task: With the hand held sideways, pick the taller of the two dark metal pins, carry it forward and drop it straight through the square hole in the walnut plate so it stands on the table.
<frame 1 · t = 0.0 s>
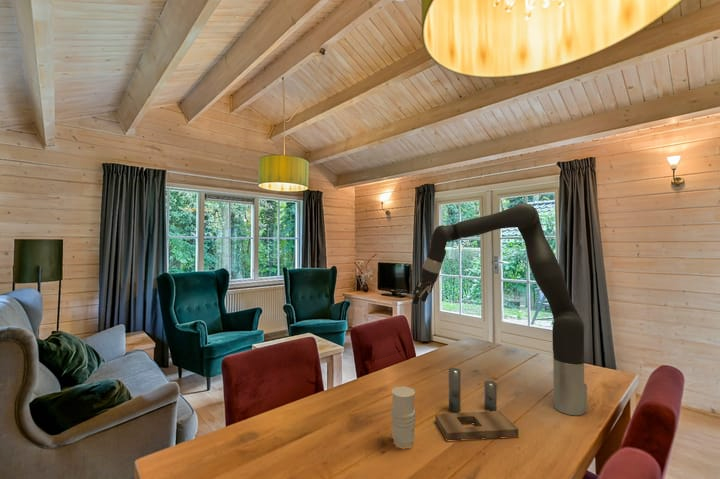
hand: (419, 302, 151), 31 cm above the table, tool tilted 20°, fingers open, 8 cm apart
hole plate: (475, 429, 106), on the table
white ribbed cylinder: (403, 443, 99), on the table
tall pin: (454, 410, 118), on the table
short pin: (490, 408, 119), on the table
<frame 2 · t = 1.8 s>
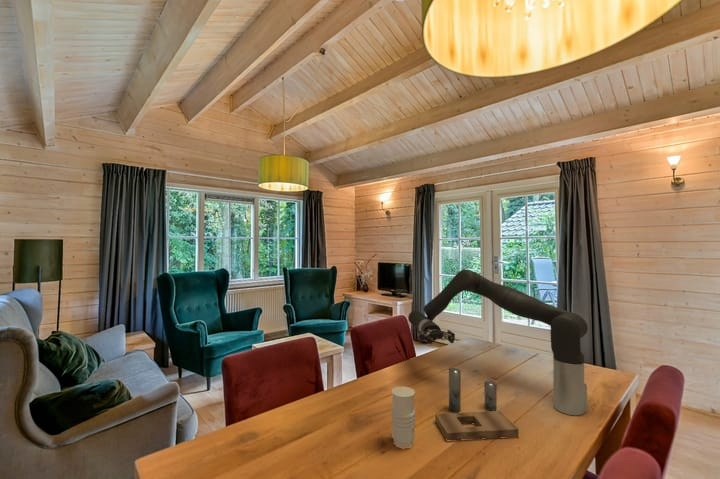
hand: (441, 341, 131), 20 cm above the table, tool horizontal, fingers open, 8 cm apart
nothing on the table moved.
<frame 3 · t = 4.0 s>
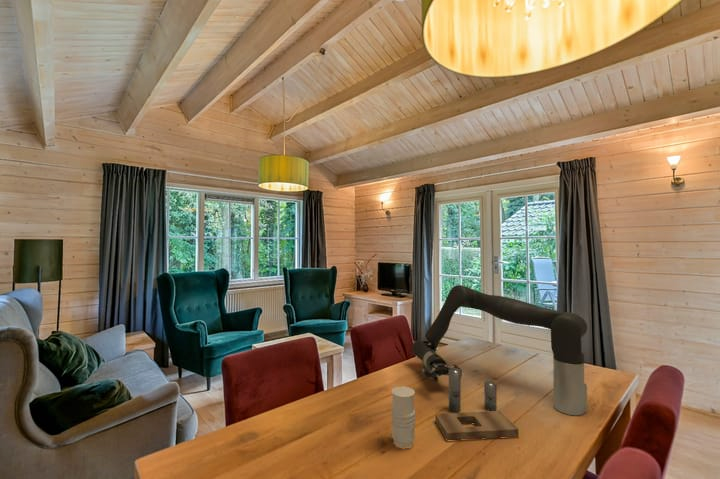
hand: (448, 378, 124), 8 cm above the table, tool horizontal, fingers open, 8 cm apart
nothing on the table moved.
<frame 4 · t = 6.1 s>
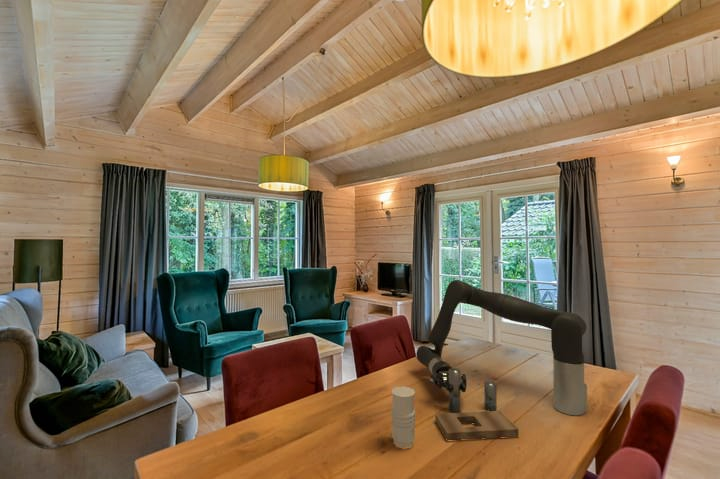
hand: (457, 389, 115), 8 cm above the table, tool horizontal, fingers closed on tall pin, 4 cm apart
tall pin: (454, 410, 118), on the table, touching gripper
everything else where it was.
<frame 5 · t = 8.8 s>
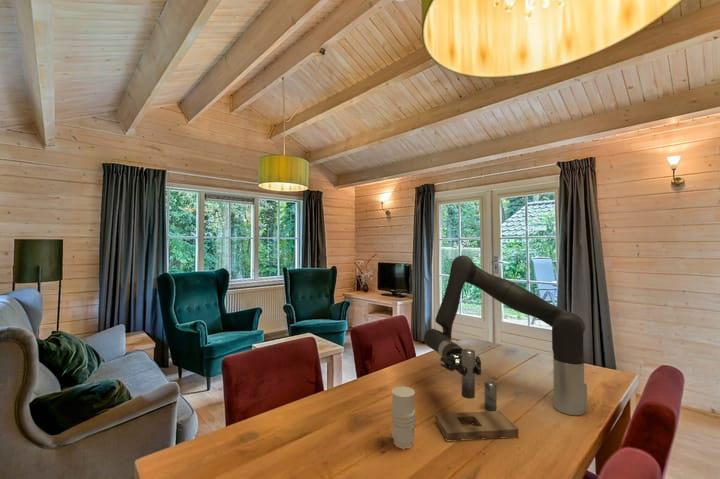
hand: (471, 372, 103), 19 cm above the table, tool horizontal, fingers closed on tall pin, 4 cm apart
tall pin: (468, 395, 106), point 10 cm above the table, touching gripper
everything else where it was.
when the fingers open (10 cm above the table, at t = 11.4 s): tall pin drops 1 cm, resting in hole plate.
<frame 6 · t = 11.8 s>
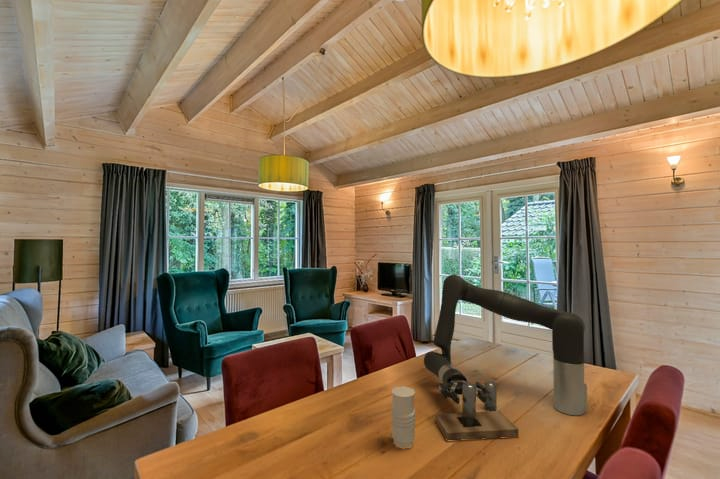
hand: (471, 400, 104), 10 cm above the table, tool horizontal, fingers open, 8 cm apart
tall pin: (468, 429, 106), resting in hole plate
everything else where it was.
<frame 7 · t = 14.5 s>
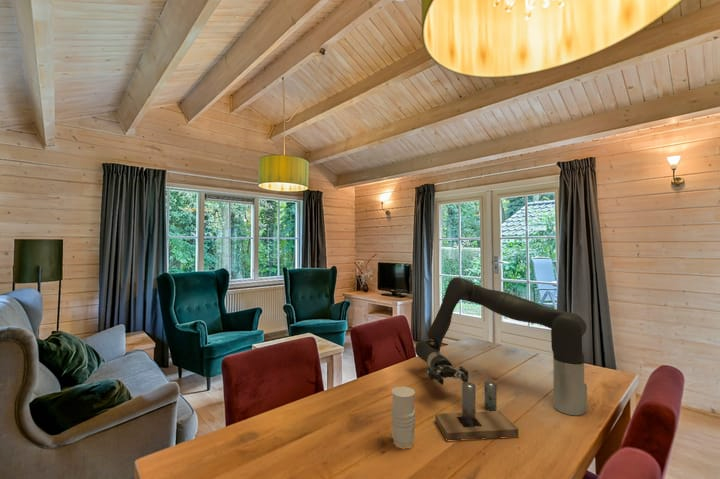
hand: (454, 381, 118), 10 cm above the table, tool horizontal, fingers open, 8 cm apart
nothing on the table moved.
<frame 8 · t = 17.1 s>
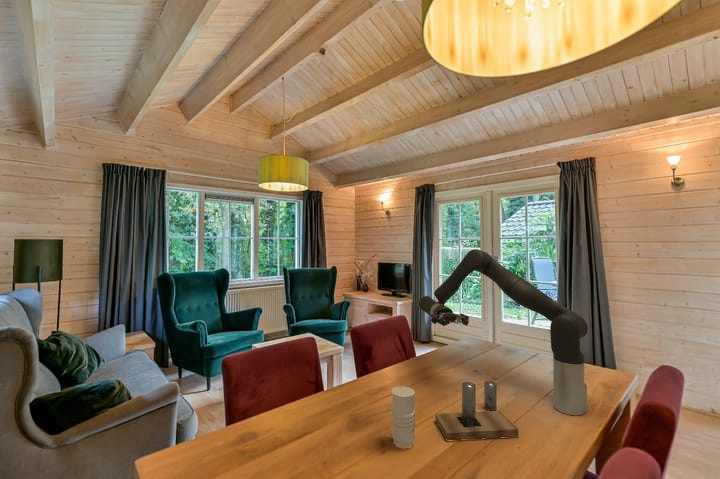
hand: (455, 323, 127), 28 cm above the table, tool horizontal, fingers open, 8 cm apart
nothing on the table moved.
at the end: tall pin 0.1 cm from the target spot on the hole plate, point 0.0 cm above the hole plate's base; tall pin tilted 0°; short pin moved 0.0 cm from its start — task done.
